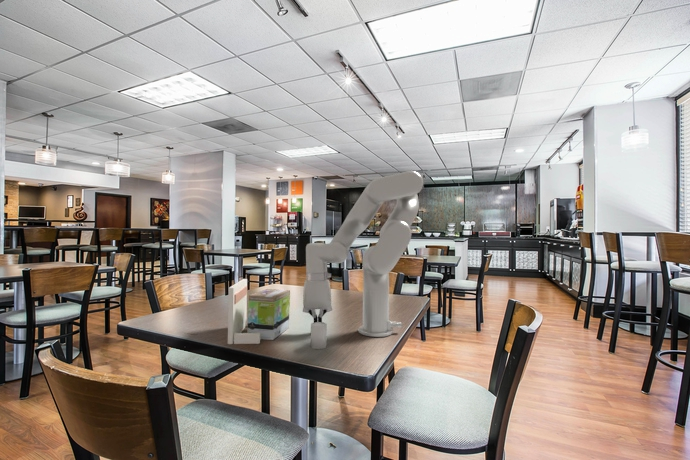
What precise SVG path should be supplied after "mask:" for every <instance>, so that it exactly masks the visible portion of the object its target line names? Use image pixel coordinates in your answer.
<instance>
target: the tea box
mask: <svg viewBox="0 0 690 460" xmlns="http://www.w3.org/2000/svg"><path fill="white" fill-rule="evenodd" d="M290 301H291V290H289V289H276V288H275V289H274V288H273V289H272V288H270V289H269V288H266V289H262V290H260V291H258V292H255V293H251V294H249V295H248V305H247V318H248V327H247V329H246V331H247V332H246V333H260V340H264V341H265V340H267V341H274V340H275V339H276V338H277V337H279V336H281V334H283V333H284V332H285V331H287V330H288V329H290V328H289V327H290V306H291V305H290V303H291V302H290Z"/></svg>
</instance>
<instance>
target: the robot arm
mask: <svg viewBox="0 0 690 460" xmlns="http://www.w3.org/2000/svg"><path fill="white" fill-rule="evenodd" d="M423 187H424V179H423V177H422V175H421V174H420V173H419V172H417V171H413V170H407V171H403V172H399V173H396V174H391V175H386V176H382V177H378V178H375V179H373V180H372V181H370V182H369V184H367V185H366V187H365V188H364V190H362V191H363V192H362V193H361V194H360V196H359V197H358V199H357V200H356V202H355V203H354V205H353V207H352V208H351V209H350V210H349V212H348V214H347V215H346V217H345V219H344V221H343V222H342V224H341V226H340V227H339V229H338V230H337V232H336V233H335V235H334V236H333V238H332V239H331V240H330V242H329V243H322V242H310V243H307V244H306V246H305V262H306V263H305V266H306V267H305V268H306V269H305V271H306V274H305V275H306V280H304V282H303V295H302V296H303V299H302V304H303V307H302V312H303V313H306V314H309V315H310V316H311V317H312V318H313V323H315V322H323V317H324V316H325V314H326V313H331V312H333V306H332V302H333V301H332V289H331V283H330V280H329V278H332V273H330V272H328V263H332V264H341V263H344V262H345V261H346V260H347V259H348V258H349V250H350V248H351V246H352V245H353V244H354V242H355V241H356V239H357V238H358V237H359V236H360V235H361V234H362V233H364V231H365V230H366V229H367V228H368V227H369V225H370V224H371V222H372V220H373V219H374V218H375V217H376V215H377V213H378V211H380V208H381V207H382V206H383V204H384V203H385V202H389V201H394V200H396V204H395V206H394V207H393V209H392V212H391V214H390V215H389V216H388V218H387V220H386V221H385V222H384V224H383V225H382V227H381V228H380V231H379V239H378V240H377V241H376V243H375V244H374V245H372V246H369V247H368V248H367V249H366V250H365V251H364V253H363V255H362V261H361V262H362V276H363V277H362V278H363V279H362V281H363V282H362V286H363V287H362V325H360V326H359V327H358V329H357V331H358V333H359V334H361V335H363V336H366V337H374V338H383V337H388V336H391V335H392V334H393V333H394V330H393V329H394V328H397V329H398V328H399V329H400V328H401V329H402V328H403V327H402V326H403V323H402V321H396V320H392V321H391V320H390V317H389V316H390V314H389V313H390V274H389V273H390V272H391V271H393V269H394V267H396V265H397V264H398V262H399V260H400V259H401V257H402V256H403V254H404V252H405V251H406V249H407V247H408V245H410V242H411V238H412V230H411V227H412V225H413V223H414V220H415V219H416V217H417V215H418V213H419V209H420V200H419V196H418V194H419V193H420V192H421V191H422V189H423ZM317 310H319V313H318V314H317Z"/></svg>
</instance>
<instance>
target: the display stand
mask: <svg viewBox="0 0 690 460" xmlns="http://www.w3.org/2000/svg"><path fill="white" fill-rule="evenodd" d="M227 302H228V306H227V308H228V309H227V310H228V314H227V345H233V344H234V345H246V344H247V345H248V344H249V345H252V344H253V345H254V344H255V345H258V344H261V339H260V333H247V332H243V331H244V330H245V328H246V327H247V328H248V304H247V303H248V278H242V279H241V280H239V281H238V282H236V283H234V284H232V285H231V286H229V287H228V301H227Z"/></svg>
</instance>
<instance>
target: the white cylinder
mask: <svg viewBox="0 0 690 460" xmlns="http://www.w3.org/2000/svg"><path fill="white" fill-rule="evenodd" d="M310 348H311V349H315V350H322V349H325V348H327V323H326V322H323V321H322V322H315V323H314V322H312V323H311V324H310Z"/></svg>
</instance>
